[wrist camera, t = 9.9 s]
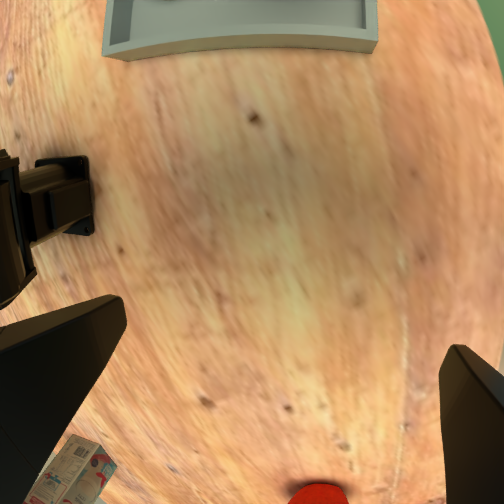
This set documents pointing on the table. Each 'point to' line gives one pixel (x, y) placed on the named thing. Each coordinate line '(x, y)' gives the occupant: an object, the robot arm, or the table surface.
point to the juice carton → (73, 475)
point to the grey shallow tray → (236, 26)
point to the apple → (319, 495)
